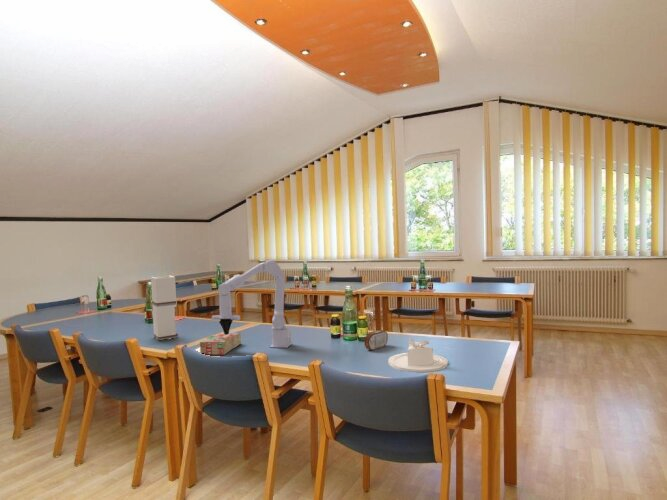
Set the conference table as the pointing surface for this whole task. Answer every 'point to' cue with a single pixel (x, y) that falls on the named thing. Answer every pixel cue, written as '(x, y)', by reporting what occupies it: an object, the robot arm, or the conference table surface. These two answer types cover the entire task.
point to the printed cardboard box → (220, 343)
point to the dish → (418, 358)
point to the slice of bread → (376, 339)
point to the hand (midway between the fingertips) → (226, 334)
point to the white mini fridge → (164, 307)
